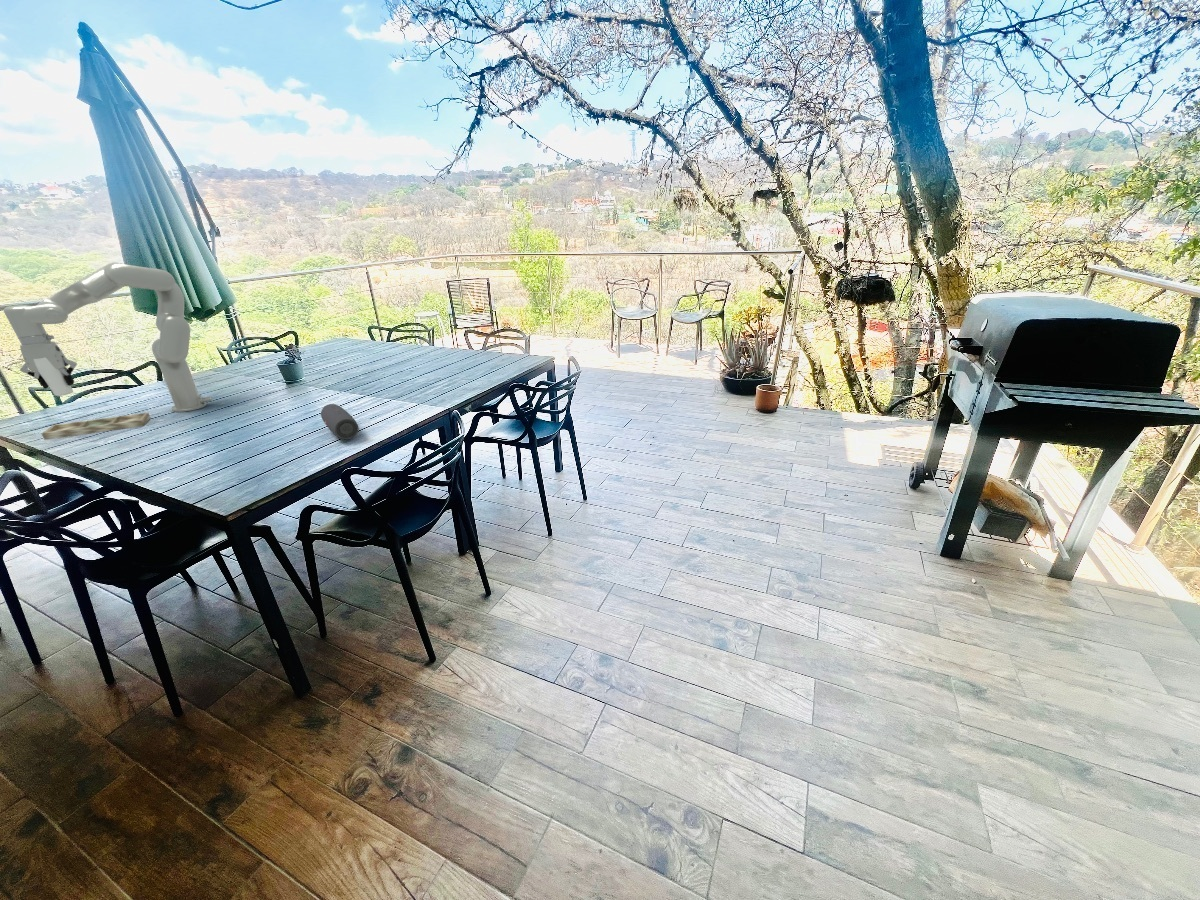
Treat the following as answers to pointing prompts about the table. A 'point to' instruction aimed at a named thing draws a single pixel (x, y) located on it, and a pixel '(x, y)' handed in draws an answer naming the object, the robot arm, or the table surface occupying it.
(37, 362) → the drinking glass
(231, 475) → the table surface
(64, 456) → the table surface
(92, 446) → the table surface
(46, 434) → the wooden compartment tray
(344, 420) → the bluetooth speaker
